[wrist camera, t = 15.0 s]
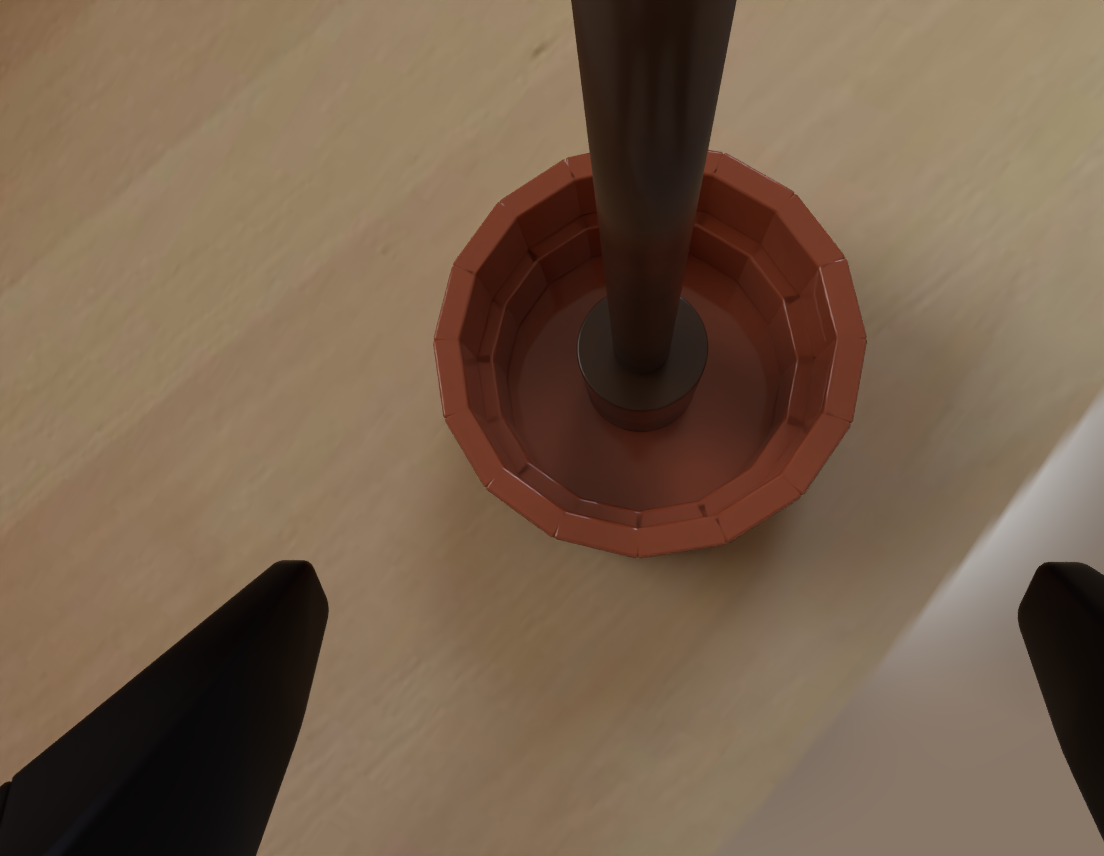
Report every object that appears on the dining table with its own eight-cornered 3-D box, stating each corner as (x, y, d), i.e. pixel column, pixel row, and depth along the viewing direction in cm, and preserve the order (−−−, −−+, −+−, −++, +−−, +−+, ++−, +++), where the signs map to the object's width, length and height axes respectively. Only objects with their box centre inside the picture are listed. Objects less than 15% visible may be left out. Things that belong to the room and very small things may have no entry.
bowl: (879, 336, 17) (951, 279, 13) (685, 620, 17) (701, 646, 13) (599, 169, 19) (590, 74, 15) (415, 423, 18) (356, 394, 15)
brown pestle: (703, 425, 17) (1773, -1257, 1) (592, 437, 17) (61, -709, 1) (688, 319, 17) (1269, -2008, 1) (580, 332, 18) (87, -1467, 2)
